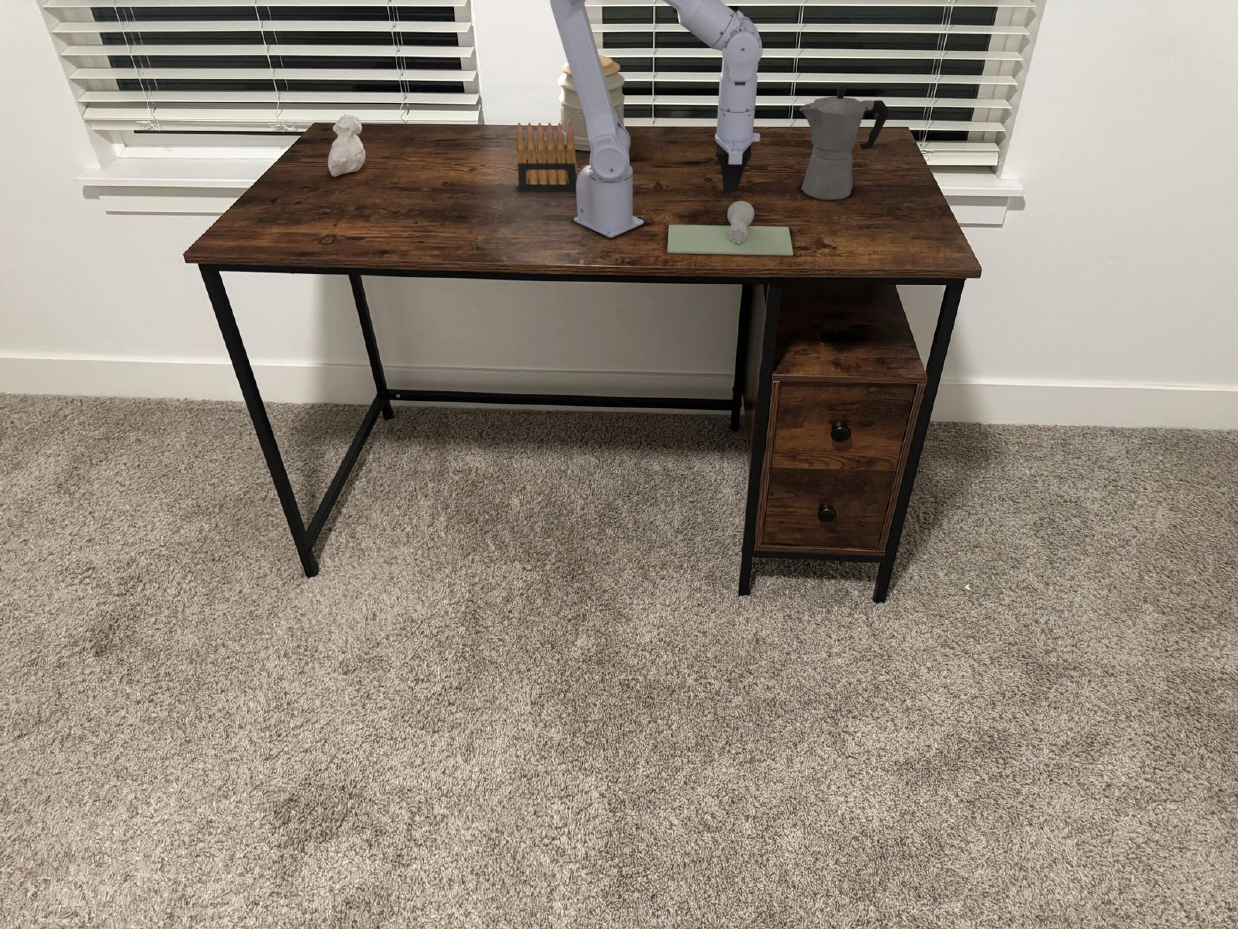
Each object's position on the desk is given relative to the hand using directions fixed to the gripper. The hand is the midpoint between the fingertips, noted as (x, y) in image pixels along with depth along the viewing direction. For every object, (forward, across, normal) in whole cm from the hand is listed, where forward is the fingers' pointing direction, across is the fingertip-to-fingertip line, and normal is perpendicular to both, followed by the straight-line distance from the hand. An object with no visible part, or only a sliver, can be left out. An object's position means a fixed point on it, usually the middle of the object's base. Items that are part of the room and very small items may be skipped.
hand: (730, 190), depth 146 cm
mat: (+6, -6, 0) cm, 8 cm away
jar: (+6, +38, +26) cm, 47 cm away
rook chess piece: (+3, -1, -2) cm, 4 cm away
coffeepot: (+6, +15, -19) cm, 25 cm away
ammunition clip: (+6, +14, +32) cm, 36 cm away
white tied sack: (+6, +21, +72) cm, 75 cm away
